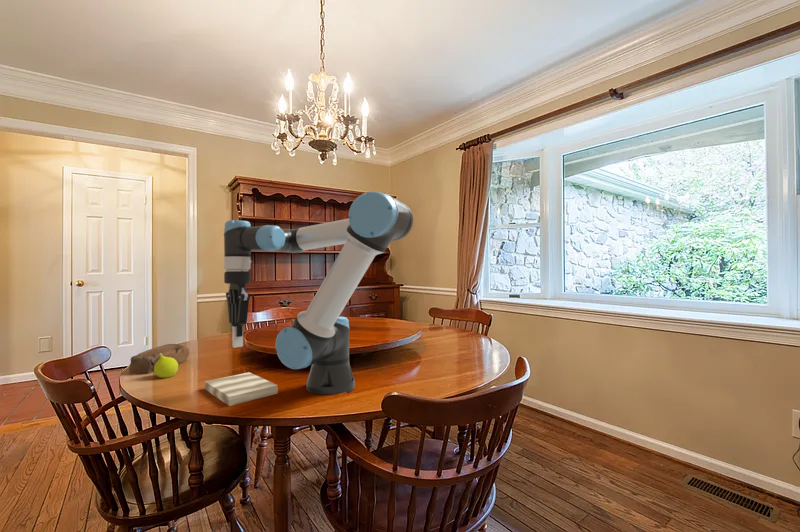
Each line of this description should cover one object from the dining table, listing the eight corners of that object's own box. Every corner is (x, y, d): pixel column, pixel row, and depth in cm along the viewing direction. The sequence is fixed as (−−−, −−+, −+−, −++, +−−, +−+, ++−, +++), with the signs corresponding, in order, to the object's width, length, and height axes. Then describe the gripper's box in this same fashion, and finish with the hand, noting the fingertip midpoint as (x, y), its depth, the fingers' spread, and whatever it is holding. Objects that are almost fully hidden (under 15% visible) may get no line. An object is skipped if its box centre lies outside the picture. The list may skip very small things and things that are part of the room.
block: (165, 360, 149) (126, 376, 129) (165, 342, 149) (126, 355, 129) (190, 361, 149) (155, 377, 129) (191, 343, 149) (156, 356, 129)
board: (277, 393, 110) (277, 385, 110) (229, 406, 100) (229, 396, 100) (249, 379, 124) (249, 372, 124) (204, 389, 114) (204, 381, 114)
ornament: (149, 381, 123) (149, 351, 123) (161, 375, 130) (161, 347, 130) (171, 380, 123) (171, 351, 123) (182, 374, 130) (182, 346, 130)
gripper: (258, 270, 112) (258, 347, 112) (241, 270, 121) (241, 342, 121) (233, 270, 106) (233, 352, 106) (217, 270, 116) (217, 345, 115)
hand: (237, 346), depth 114 cm, fingers closed
